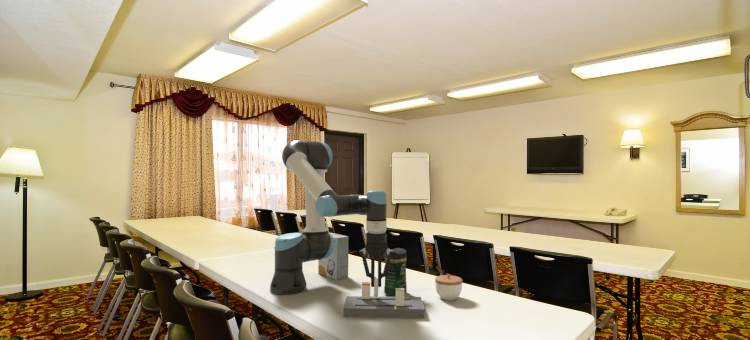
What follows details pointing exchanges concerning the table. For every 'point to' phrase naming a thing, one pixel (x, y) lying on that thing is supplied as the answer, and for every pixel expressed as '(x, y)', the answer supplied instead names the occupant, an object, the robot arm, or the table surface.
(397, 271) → the coffee jar
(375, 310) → the console
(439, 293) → the lidded jar
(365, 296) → the block
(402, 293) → the fader front
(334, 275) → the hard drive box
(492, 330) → the table surface
